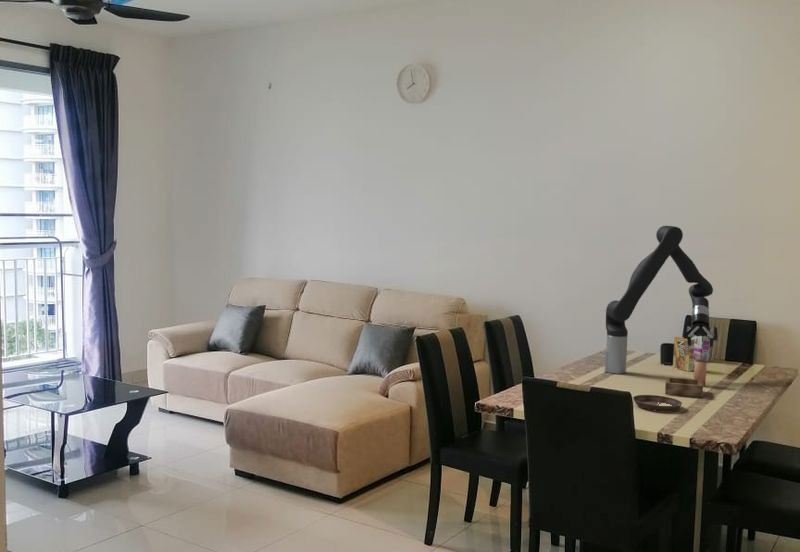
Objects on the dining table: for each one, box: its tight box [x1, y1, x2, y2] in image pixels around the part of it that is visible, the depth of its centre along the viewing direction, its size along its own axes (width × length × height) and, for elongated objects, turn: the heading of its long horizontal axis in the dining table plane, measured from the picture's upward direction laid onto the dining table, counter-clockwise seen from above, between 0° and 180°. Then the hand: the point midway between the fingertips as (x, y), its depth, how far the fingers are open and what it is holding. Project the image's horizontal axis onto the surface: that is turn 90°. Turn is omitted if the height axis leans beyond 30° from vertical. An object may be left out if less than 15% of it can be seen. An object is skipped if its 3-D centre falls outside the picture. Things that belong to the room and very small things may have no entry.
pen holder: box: [659, 342, 674, 366], centre depth 376 cm, size 9×9×10 cm
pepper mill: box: [693, 357, 708, 387], centre depth 328 cm, size 5×5×12 cm
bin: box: [664, 376, 704, 399], centre depth 313 cm, size 14×14×5 cm
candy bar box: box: [691, 331, 712, 363], centre depth 391 cm, size 11×5×16 cm, turn 6°
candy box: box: [672, 336, 695, 372], centre depth 364 cm, size 9×4×15 cm, turn 33°
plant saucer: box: [632, 394, 683, 412], centre depth 287 cm, size 18×18×3 cm
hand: (700, 346), depth 338 cm, fingers open, 8 cm apart
